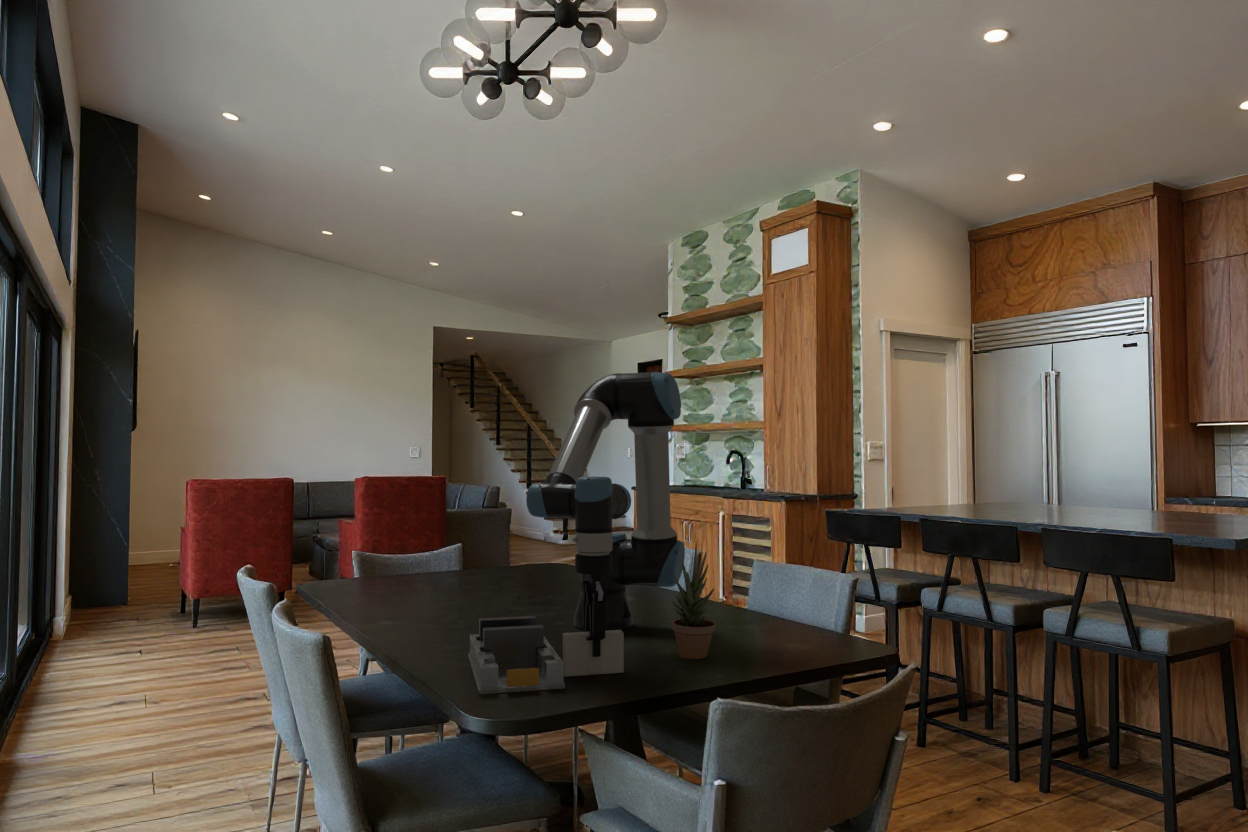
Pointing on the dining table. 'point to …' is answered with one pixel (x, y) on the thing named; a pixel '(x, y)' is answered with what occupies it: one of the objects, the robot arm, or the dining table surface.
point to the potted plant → (693, 615)
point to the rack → (513, 657)
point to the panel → (578, 653)
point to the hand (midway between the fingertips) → (593, 669)
